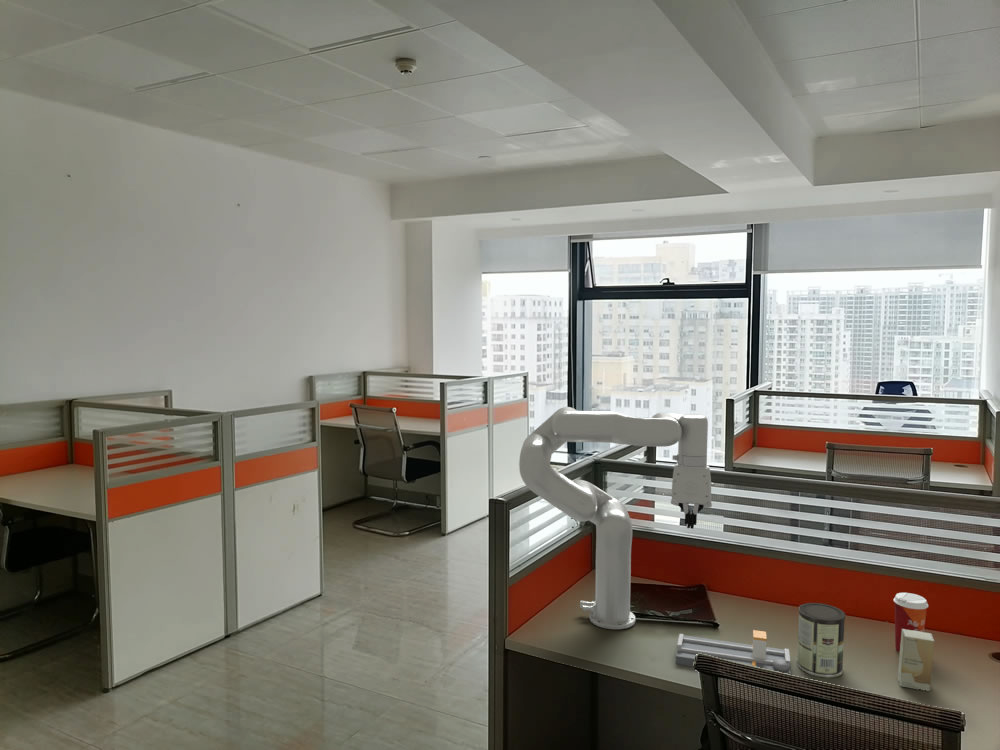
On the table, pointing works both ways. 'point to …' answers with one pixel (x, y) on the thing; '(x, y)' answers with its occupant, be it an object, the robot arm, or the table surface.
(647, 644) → the table surface
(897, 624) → the paper cup
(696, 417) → the robot arm
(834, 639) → the coffee can
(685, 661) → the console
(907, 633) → the skincare box
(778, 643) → the table surface
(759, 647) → the fader
